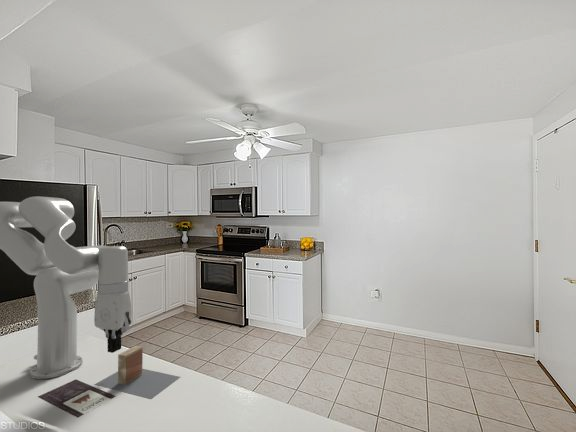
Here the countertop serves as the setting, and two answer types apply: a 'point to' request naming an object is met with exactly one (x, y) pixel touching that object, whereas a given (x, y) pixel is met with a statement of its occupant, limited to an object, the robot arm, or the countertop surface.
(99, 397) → the chocolate bar
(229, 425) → the countertop surface
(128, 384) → the mat
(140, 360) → the wooden block
